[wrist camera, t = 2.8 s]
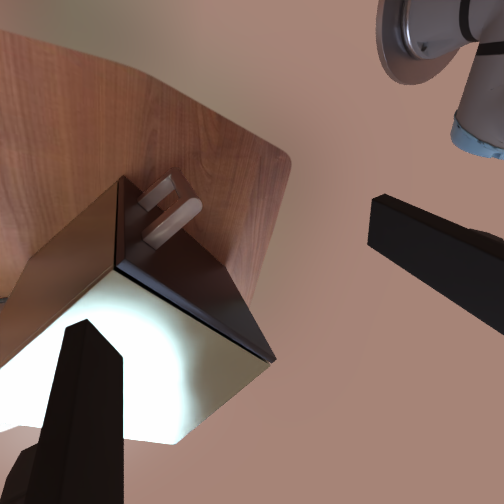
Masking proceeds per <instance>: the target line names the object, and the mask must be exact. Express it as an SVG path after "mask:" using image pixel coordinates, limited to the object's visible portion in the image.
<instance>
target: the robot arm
mask: <svg viewBox="0 0 504 504" xmlns="http://www.w3.org/2000/svg"><path fill="white" fill-rule="evenodd" d="M400 28H401V38H402V42H403V46H404V48H405V50H406V52H407V53H408V54H409V55H410V56H411V57H412V58H414V59H416V60H430V59H435V58H437V57H440V56H442V55H444V54H447V53H449V52H451V51H453V50H455V49H458V48H460V47H462V46H464V45H466V44H469V43H471V42H480V43H479V46H478V49H477V52H476V55H475V58H474V61H473V64H472V67H471V71H470V74H469V77H468V80H467V83H466V86H465V89H464V92H463V95H462V98H461V102H460V104H459V107H458V110H456V112H455V114H454V123H453V126H452V130H451V139H452V142H453V143H454V144H455V146H457V147H458V148H460V149H461V150H463V151H466V152H468V153H471V154H474V155H477V156H482V157H487V158H491V157H494V158H497V159H503V160H504V0H403V5H402V11H401V22H400ZM367 245H368V246H370V247H371V248H373V249H374V250H376V251H378V252H379V253H380V254H382V255H383V256H385V257H386V258H388V259H389V260H391V261H393V262H394V263H395V264H397V265H399V266H400V267H402V268H403V269H405V270H406V271H408V272H409V273H411V274H412V275H414V276H415V277H417V278H418V279H420V280H421V281H423V282H424V283H426V284H427V285H429V286H430V287H432V288H433V289H435V290H436V291H438V292H439V293H441V294H442V295H444V296H446V297H447V298H448V299H450V300H451V301H453V302H454V303H456V304H457V305H459V306H461V307H462V308H463V309H465V310H467V311H468V312H469V313H471V314H472V315H474V316H475V317H477V318H478V319H480V320H481V321H483V322H485V323H486V324H487V325H489V326H490V327H492V328H493V329H495V330H497V331H498V332H500V333H501V334H503V335H504V240H503V239H502V238H499V237H497V236H495V235H492V234H490V233H487V232H483V231H478V230H474V229H467V228H465V227H462V226H460V225H458V224H455V223H453V222H451V221H448V220H446V219H443V218H441V217H439V216H436V215H434V214H432V213H430V212H427V211H425V210H422V209H420V208H418V207H415V206H413V205H410V204H408V203H406V202H403V201H401V200H399V199H396V198H394V197H392V196H389V195H387V194H383V195H380V196H378V197H375V198H373V199H372V204H371V213H370V223H369V233H368V243H367ZM0 504H124V357H123V356H122V355H121V354H120V353H119V352H118V351H117V350H116V349H115V347H114V346H113V345H112V344H111V343H110V342H109V341H108V340H107V339H106V338H105V337H104V336H103V335H102V334H101V332H100V331H99V330H98V329H97V328H96V327H95V326H94V325H93V324H92V323H91V322H90V321H89V320H88V319H87V318H86V319H84V320H81V321H79V322H77V323H74V324H72V325H70V326H67V327H65V331H64V336H63V340H62V344H61V348H60V352H59V357H58V361H57V365H56V369H55V374H54V378H53V382H52V386H51V390H50V395H49V399H48V403H47V407H46V412H45V416H44V420H43V424H42V429H41V433H40V437H39V441H38V443H37V444H35V445H33V446H31V447H29V448H27V449H25V450H23V451H21V453H20V455H19V457H18V458H17V460H16V462H15V464H14V466H13V467H12V469H11V471H10V473H9V474H8V476H7V479H6V482H5V485H4V488H3V492H2V495H1V499H0Z"/></svg>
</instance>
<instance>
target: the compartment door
mask: <svg viewBox="0 0 504 504" xmlns="http://www.w3.org/2000/svg"><path fill="white" fill-rule="evenodd" d="M174 189H175V190H176V192H177V194H178V196H179V198H180V199H179V200H177V201H176V202H175V203H174V204H173V205H172V206H171V207H169V208H168V209H167V210H166V211H165V212H164V211H163V210H162V209H161V208H159V207H158V206H157V204H158V203H159V202H160V201H161V200H162V199H164V198H165V197H166V196H167V195H168V194H169V193H170V192H172V191H173V190H174ZM201 210H202V202H201V200H200V199H199V197H198V196H197V194H196V193H195V191H194V190H193V188H192V187H191V185H190V184H189V182H188V181H187V179H186V178H185V176H184V175H183V173H182V172H181V170H180V169H179V168H176V167H173V168H171V169H170V170H169V171H167V172H166V173H165V174H164V175H163V176H162V177H161V178H159V179H158V180H157V181H156V182H155V183H154V184H153V185H152V186H150V187H149V188H148V189H147V190H146V191H145V192H144V193H143V192H142V191H141V190H140V189H139V188H137V187H136V186H135V185H134V184H133V183H132V182H131V181H130V180H129V179H128V178H126V177H125V176H124V175H123V176H122V177H121V178H120V179H119V191H118V220H117V249H116V267H118V268H119V269H121V270H122V271H124V272H126V273H127V274H129V275H130V276H132V277H134V278H135V279H137V280H138V281H140V282H142V283H143V284H145V285H146V286H148V287H150V288H151V289H153V290H155V291H156V292H158V293H159V294H161V295H163V296H164V297H166V298H167V299H169V300H171V301H172V302H174V303H175V304H177V305H179V306H180V307H182V308H183V309H185V310H187V311H188V312H190V313H191V314H193V315H195V316H196V317H198V318H199V319H201V320H203V321H204V322H206V323H207V324H209V325H211V326H212V327H214V328H216V329H217V330H219V331H220V332H222V333H224V334H225V335H227V336H228V337H230V338H232V339H233V340H235V341H236V342H238V343H240V344H241V345H243V346H244V347H246V348H248V349H249V350H251V351H252V352H254V353H256V354H257V355H259V356H260V357H262V358H264V359H265V360H267V361H268V362H270V363H273V362H274V361H275V360H276V357H275V355H274V353H273V352H272V350H271V348H270V346H269V344H268V342H267V341H266V339H265V337H264V335H263V334H262V332H261V330H260V328H259V327H258V325H257V323H256V321H255V319H254V317H253V316H252V314H251V312H250V311H249V309H248V307H247V305H246V303H245V301H244V300H243V298H242V296H241V294H240V292H239V291H238V289H237V287H236V285H235V284H234V282H233V280H232V278H231V276H230V275H229V273H228V271H227V269H226V268H225V267H224V266H223V265H222V264H221V263H220V262H219V261H218V260H217V259H216V258H214V257H213V256H212V255H211V254H210V253H209V252H208V251H207V250H206V249H205V248H203V247H202V246H201V245H200V244H199V243H198V242H197V241H196V240H195V239H194V238H192V237H191V236H190V235H189V234H188V233H187V232H186V231H185V230H184V229H183V228H182V227H183V226H184V225H185V224H187V223H188V222H189V221H190V220H191V219H192V218H194V217H195V216H196V215H197V214H198V213H199V212H200V211H201Z"/></svg>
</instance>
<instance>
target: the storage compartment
mask: <svg viewBox="0 0 504 504" xmlns="http://www.w3.org/2000/svg"><path fill="white" fill-rule="evenodd" d="M118 191H119V181H116V182H115V183H114V184H113V185H112V186H110V187H109V188H108V189H107V190H106V191H105V192H104V193H103V194H101V195H100V196H99V197H98V198H97V199H96V200H95V201H94V202H92V203H91V204H90V205H89V206H88V207H87V208H86V209H85V210H83V211H82V212H81V213H80V214H79V215H78V216H77V217H76V218H75V219H73V220H72V221H71V222H70V223H69V224H68V225H67V226H66V227H64V228H63V229H62V230H61V231H60V232H59V233H58V234H57V235H55V236H54V237H53V238H52V239H51V240H50V241H49V242H48V243H46V244H45V245H44V246H43V247H42V248H41V249H40V250H39V251H37V252H36V253H35V254H34V255H33V256H32V257H31V258H30V259H29V260H28V262H27V264H26V265H25V267H24V269H23V271H22V273H21V275H20V277H19V279H18V281H17V282H16V284H15V286H14V288H13V290H12V292H11V294H10V296H9V298H8V299H7V301H6V303H5V305H4V307H3V309H2V311H1V313H0V422H1V423H9V424H16V425H24V426H32V427H40V428H42V424H43V420H44V416H45V412H46V407H47V403H48V399H49V395H50V390H51V386H52V382H53V378H54V374H55V369H56V365H57V361H58V357H59V352H60V348H61V344H62V340H63V336H64V331H65V327H67V326H70V325H72V324H74V323H77V322H79V321H81V320H84V319H86V318H87V319H88V320H89V321H90V322H91V323H92V324H93V325H94V326H95V327H96V328H97V329H98V330H99V331H100V332H101V334H102V335H103V336H104V337H105V338H106V339H107V340H108V341H109V342H110V343H111V344H112V345H113V346H114V347H115V349H116V350H117V351H118V352H119V353H120V354H121V355H122V356H123V357H124V438H127V439H134V440H141V441H149V442H157V443H165V444H173V445H175V444H176V443H177V442H179V441H180V440H181V439H182V438H183V437H185V436H186V435H187V434H188V433H189V432H191V431H192V430H193V429H194V428H196V427H197V426H198V425H199V424H200V423H202V422H203V421H204V420H205V419H207V418H208V417H209V416H210V415H211V414H213V413H214V412H215V411H216V410H217V409H219V408H220V407H221V406H222V405H224V404H225V403H226V402H227V401H228V400H230V399H231V398H232V397H233V396H234V395H236V394H237V393H238V392H239V391H240V390H242V389H243V388H244V387H245V386H247V385H248V384H249V383H250V382H251V381H253V380H254V379H255V378H256V377H257V376H259V375H260V374H261V373H262V372H263V371H265V370H266V369H267V368H268V367H269V366H270V364H269V362H268V361H267V360H265V359H264V358H262V357H260V356H259V355H257V354H256V353H254V352H252V351H251V350H249V349H248V348H246V347H244V346H243V345H241V344H240V343H238V342H236V341H235V340H233V339H232V338H230V337H228V336H227V335H225V334H224V333H222V332H220V331H219V330H217V329H216V328H214V327H212V326H211V325H209V324H207V323H206V322H204V321H203V320H201V319H199V318H198V317H196V316H195V315H193V314H191V313H190V312H188V311H187V310H185V309H183V308H182V307H180V306H179V305H177V304H175V303H174V302H172V301H171V300H169V299H167V298H166V297H164V296H163V295H161V294H159V293H158V292H156V291H155V290H153V289H151V288H150V287H148V286H146V285H145V284H143V283H142V282H140V281H138V280H137V279H135V278H134V277H132V276H130V275H129V274H127V273H126V272H124V271H122V270H121V269H119V268H118V267H116V249H117V220H118Z"/></svg>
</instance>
